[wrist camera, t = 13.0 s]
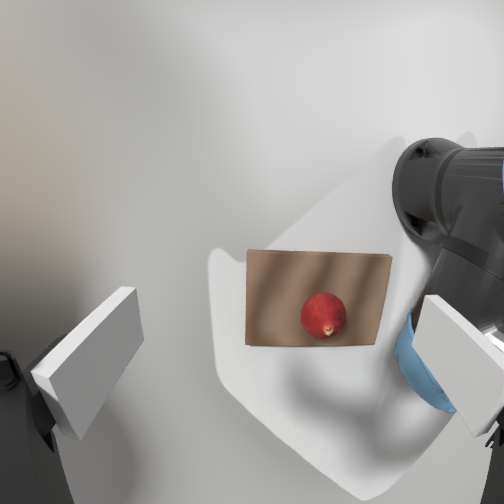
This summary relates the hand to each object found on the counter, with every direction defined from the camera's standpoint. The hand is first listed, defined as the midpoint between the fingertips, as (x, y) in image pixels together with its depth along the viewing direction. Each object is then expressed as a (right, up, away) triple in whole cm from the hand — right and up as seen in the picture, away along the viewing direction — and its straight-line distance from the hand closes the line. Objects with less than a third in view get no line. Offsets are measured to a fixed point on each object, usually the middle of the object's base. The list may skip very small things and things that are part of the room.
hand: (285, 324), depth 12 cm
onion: (+8, -4, +27) cm, 29 cm away
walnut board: (+8, -4, +28) cm, 30 cm away
